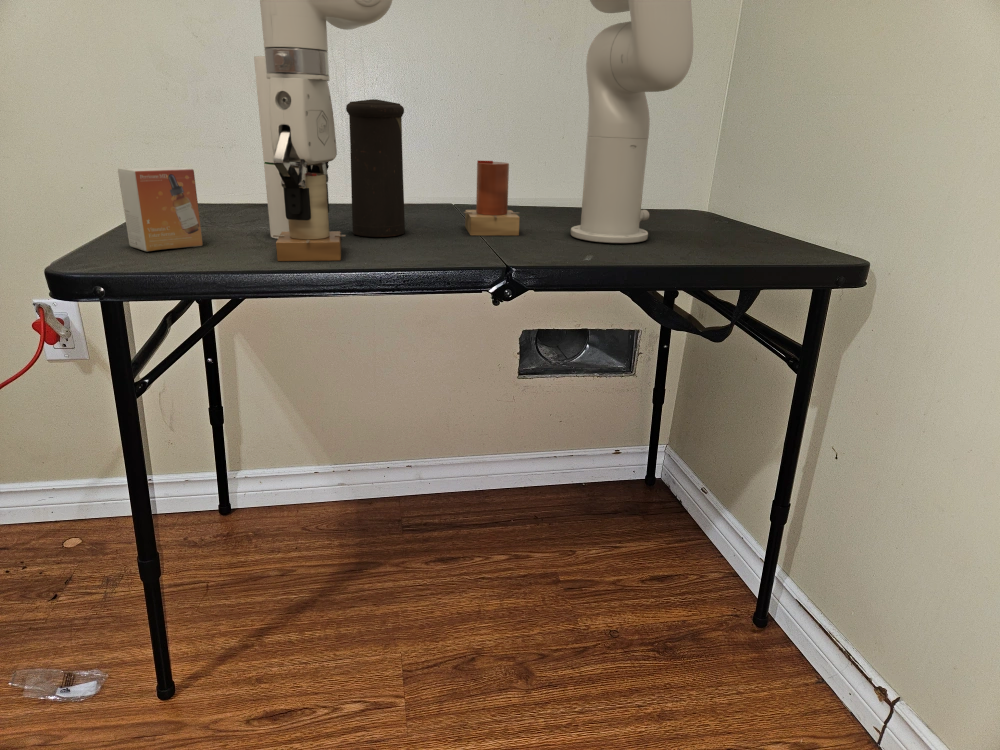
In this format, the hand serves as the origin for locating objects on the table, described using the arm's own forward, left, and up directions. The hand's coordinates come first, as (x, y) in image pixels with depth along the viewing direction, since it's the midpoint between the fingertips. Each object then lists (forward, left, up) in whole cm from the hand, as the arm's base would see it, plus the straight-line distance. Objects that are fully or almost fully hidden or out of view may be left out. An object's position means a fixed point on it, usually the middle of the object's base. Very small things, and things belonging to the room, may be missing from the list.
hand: (308, 214), depth 90 cm
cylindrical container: (-7, -14, -6) cm, 16 cm away
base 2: (-33, +4, -5) cm, 34 cm away
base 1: (0, 0, -5) cm, 5 cm away
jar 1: (0, 0, -3) cm, 3 cm away
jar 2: (-33, +4, -2) cm, 34 cm away
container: (-18, -7, -6) cm, 20 cm away
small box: (+11, -18, -6) cm, 22 cm away
